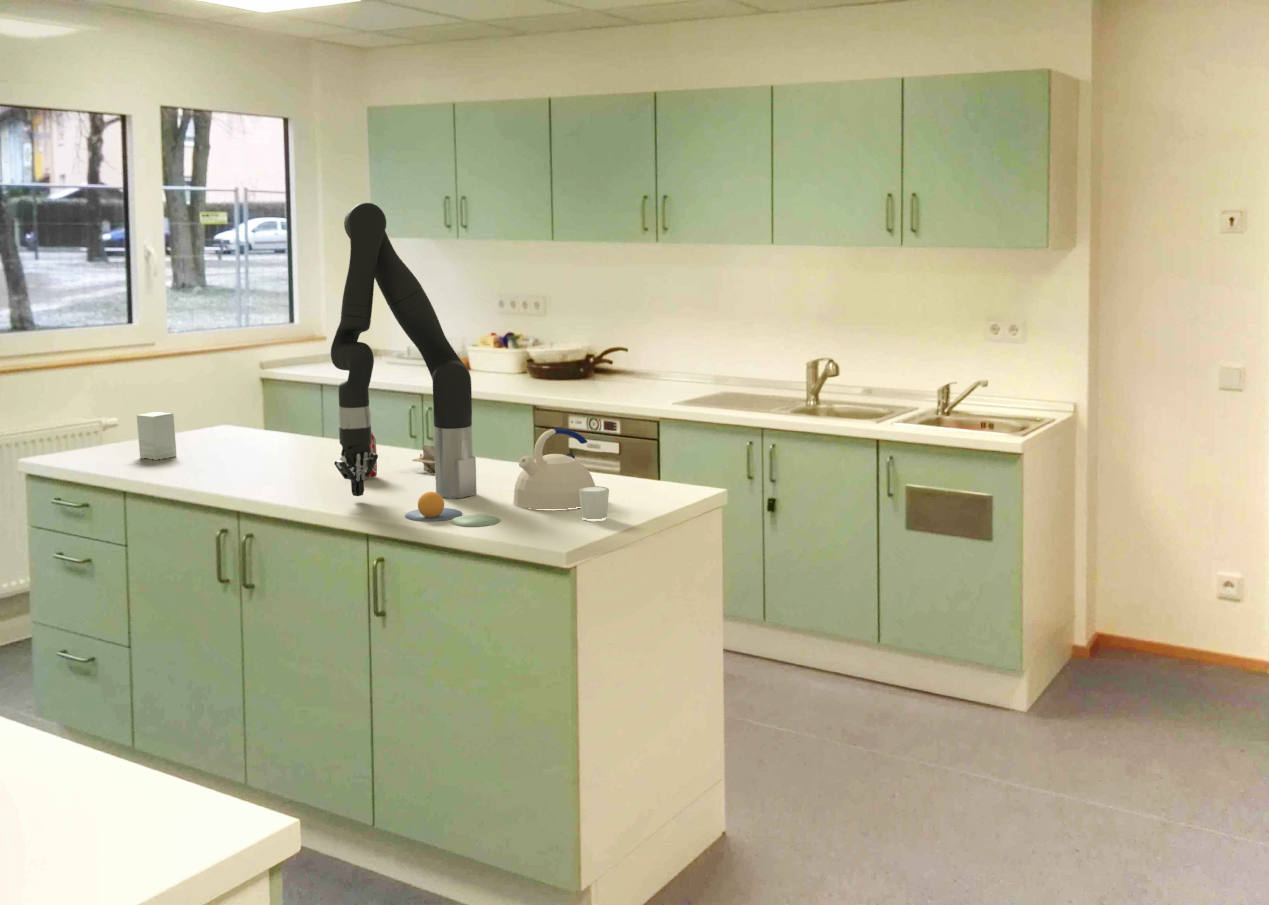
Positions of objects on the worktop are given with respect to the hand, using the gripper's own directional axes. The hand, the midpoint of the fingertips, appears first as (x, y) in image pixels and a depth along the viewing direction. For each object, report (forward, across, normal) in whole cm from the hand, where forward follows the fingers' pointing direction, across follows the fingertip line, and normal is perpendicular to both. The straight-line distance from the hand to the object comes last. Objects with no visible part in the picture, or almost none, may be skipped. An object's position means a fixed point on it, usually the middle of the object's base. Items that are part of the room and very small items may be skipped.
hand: (357, 495), depth 316 cm
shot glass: (+2, -15, +59) cm, 61 cm away
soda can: (+2, -22, -19) cm, 29 cm away
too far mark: (+2, +1, +37) cm, 37 cm away
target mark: (+2, +1, +25) cm, 25 cm away
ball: (-2, +4, +26) cm, 27 cm away
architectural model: (+2, -38, -10) cm, 39 cm away
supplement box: (+2, -13, -90) cm, 91 cm away
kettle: (+2, -25, +41) cm, 48 cm away
